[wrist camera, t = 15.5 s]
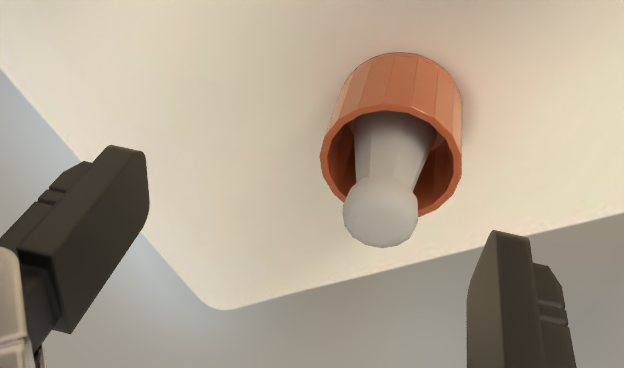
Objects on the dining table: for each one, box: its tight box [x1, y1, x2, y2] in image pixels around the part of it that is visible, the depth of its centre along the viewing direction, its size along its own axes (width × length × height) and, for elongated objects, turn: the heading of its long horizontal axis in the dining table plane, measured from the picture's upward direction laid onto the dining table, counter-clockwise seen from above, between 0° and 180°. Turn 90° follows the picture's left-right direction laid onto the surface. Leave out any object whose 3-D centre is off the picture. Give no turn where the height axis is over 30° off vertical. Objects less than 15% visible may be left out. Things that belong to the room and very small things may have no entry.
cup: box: [320, 53, 462, 217], centre depth 40 cm, size 9×9×8 cm
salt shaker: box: [343, 110, 436, 248], centre depth 37 cm, size 6×6×13 cm
